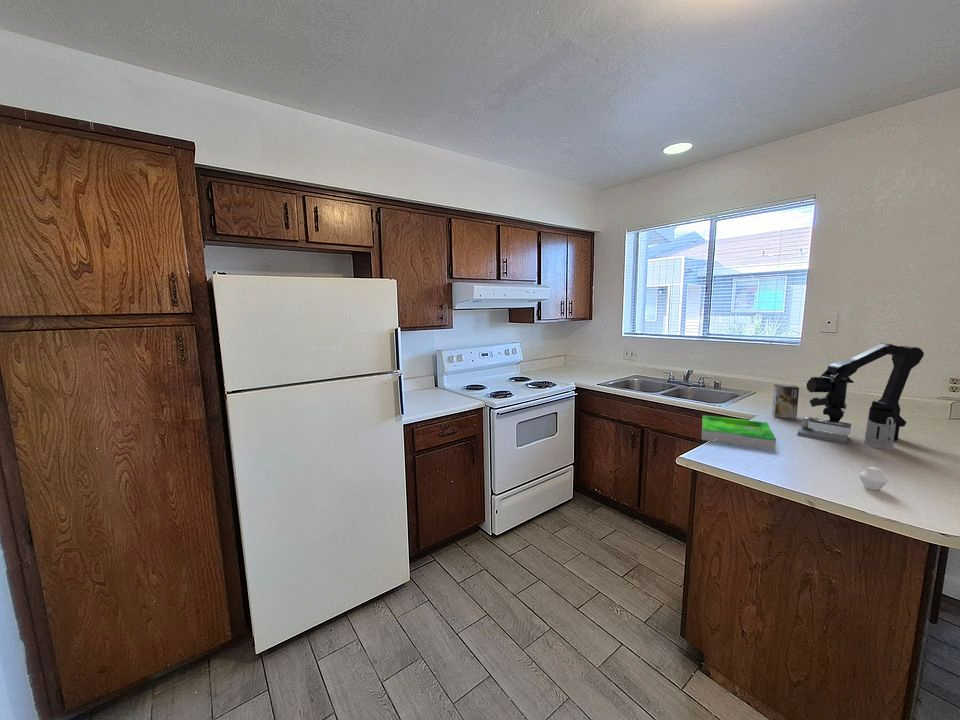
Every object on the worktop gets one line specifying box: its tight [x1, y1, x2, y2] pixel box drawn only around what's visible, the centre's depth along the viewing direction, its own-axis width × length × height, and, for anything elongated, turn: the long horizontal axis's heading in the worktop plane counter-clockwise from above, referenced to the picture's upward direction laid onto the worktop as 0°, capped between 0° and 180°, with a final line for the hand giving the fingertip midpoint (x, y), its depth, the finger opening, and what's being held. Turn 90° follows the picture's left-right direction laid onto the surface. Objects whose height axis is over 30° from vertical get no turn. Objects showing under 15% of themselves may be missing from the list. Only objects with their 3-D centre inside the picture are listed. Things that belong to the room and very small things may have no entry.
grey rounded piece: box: [862, 406, 897, 450], centre depth 148 cm, size 9×14×15 cm, turn 149°
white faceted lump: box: [858, 466, 889, 491], centre depth 115 cm, size 6×6×7 cm
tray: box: [701, 414, 777, 451], centre depth 164 cm, size 25×25×5 cm
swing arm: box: [801, 416, 852, 436], centre depth 162 cm, size 15×5×5 cm, turn 40°
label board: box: [797, 425, 849, 445], centre depth 163 cm, size 16×12×2 cm
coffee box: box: [771, 384, 800, 419], centre depth 192 cm, size 9×6×16 cm
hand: (832, 427), depth 163 cm, fingers closed
